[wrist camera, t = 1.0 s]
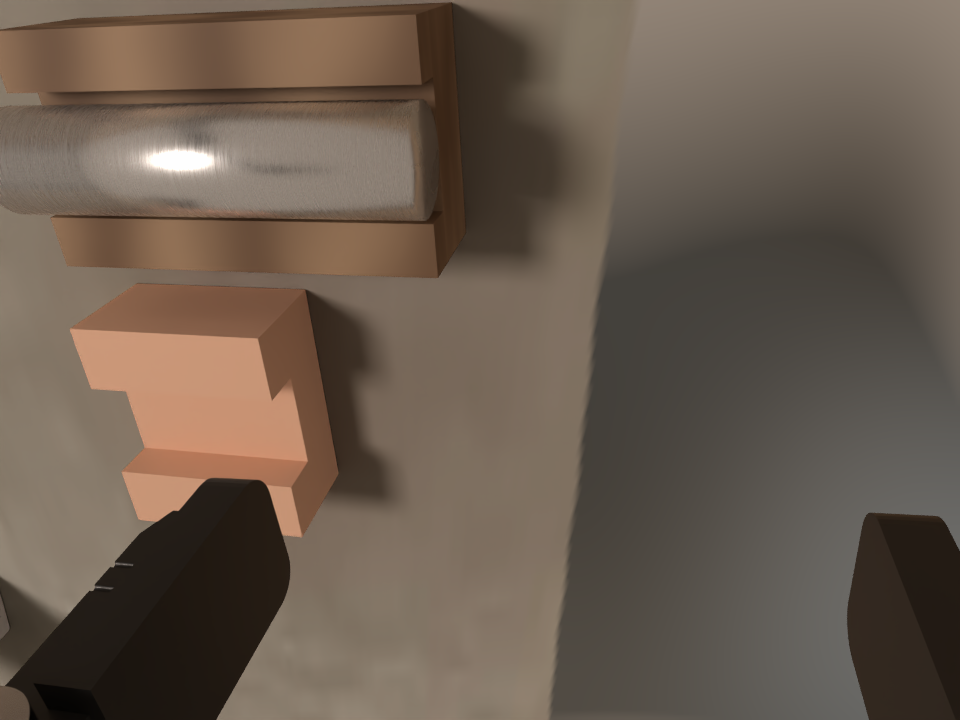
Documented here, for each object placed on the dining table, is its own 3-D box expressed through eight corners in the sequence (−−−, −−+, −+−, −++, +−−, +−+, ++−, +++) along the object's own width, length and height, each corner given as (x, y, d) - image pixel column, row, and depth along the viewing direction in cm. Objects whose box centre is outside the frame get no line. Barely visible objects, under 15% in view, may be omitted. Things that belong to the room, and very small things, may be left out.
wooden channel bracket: (137, 226, 35) (67, 266, 31) (77, 18, 31) (-15, 31, 26) (465, 232, 32) (437, 277, 28) (451, 2, 28) (415, 14, 23)
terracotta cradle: (190, 460, 42) (138, 519, 38) (136, 283, 37) (69, 328, 32) (338, 473, 40) (302, 537, 36) (305, 289, 35) (257, 338, 31)
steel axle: (72, 196, 31) (0, 229, 27) (39, 96, 29) (-42, 118, 25) (442, 200, 28) (413, 237, 24) (434, 89, 26) (401, 112, 22)
